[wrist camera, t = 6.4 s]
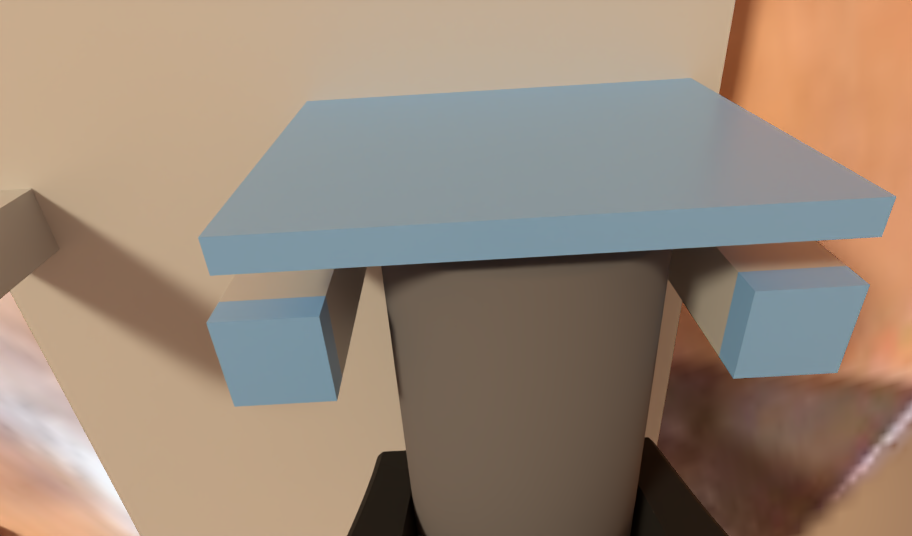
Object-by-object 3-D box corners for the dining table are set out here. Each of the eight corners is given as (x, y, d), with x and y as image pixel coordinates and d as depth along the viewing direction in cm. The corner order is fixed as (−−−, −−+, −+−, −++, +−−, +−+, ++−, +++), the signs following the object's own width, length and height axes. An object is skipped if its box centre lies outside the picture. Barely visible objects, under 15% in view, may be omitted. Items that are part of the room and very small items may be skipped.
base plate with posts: (629, 529, 16) (708, 780, 11) (175, 553, 16) (65, 813, 12) (740, -173, 8) (1169, -325, 3) (-157, -116, 8) (-986, -185, 3)
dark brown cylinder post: (591, 555, 13) (632, 743, 10) (436, 559, 13) (429, 747, 10) (630, 153, 9) (729, 271, 5) (391, 164, 9) (352, 287, 6)
